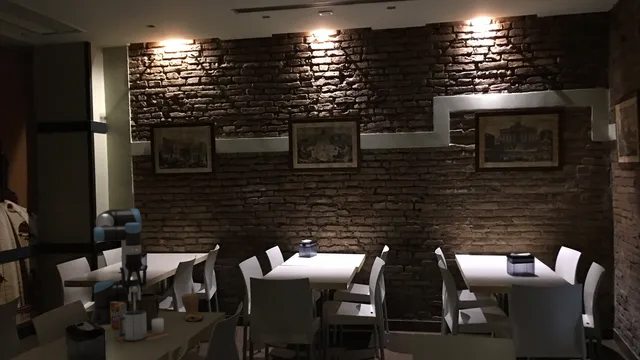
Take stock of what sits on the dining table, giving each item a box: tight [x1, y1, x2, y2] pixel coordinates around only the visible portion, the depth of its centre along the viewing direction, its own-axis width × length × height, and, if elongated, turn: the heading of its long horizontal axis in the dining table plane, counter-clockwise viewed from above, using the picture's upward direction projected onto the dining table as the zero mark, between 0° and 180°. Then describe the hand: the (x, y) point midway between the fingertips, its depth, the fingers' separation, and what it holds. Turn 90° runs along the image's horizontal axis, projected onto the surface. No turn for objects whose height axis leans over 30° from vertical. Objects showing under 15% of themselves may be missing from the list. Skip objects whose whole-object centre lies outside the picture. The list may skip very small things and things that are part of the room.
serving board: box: [114, 330, 172, 346], centre depth 283 cm, size 16×24×2 cm, turn 122°
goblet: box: [130, 286, 138, 315], centre depth 280 cm, size 8×8×20 cm
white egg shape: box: [151, 317, 165, 334], centre depth 290 cm, size 6×6×7 cm
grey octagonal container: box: [118, 309, 148, 343], centre depth 279 cm, size 11×13×13 cm
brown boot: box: [181, 292, 203, 322], centre depth 323 cm, size 15×12×15 cm
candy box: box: [110, 301, 128, 331], centre depth 302 cm, size 9×4×15 cm, turn 57°
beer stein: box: [136, 293, 160, 332], centre depth 301 cm, size 15×11×20 cm
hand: (134, 299), depth 280 cm, fingers closed on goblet, 4 cm apart
